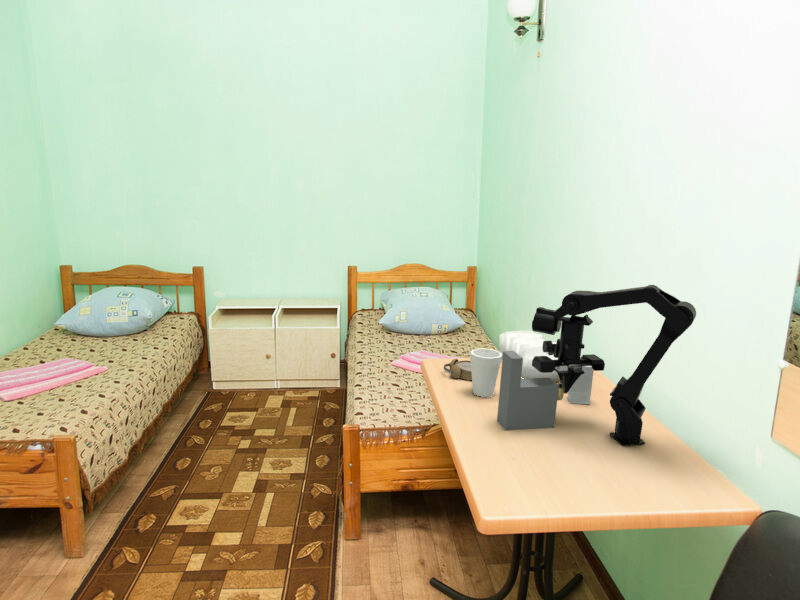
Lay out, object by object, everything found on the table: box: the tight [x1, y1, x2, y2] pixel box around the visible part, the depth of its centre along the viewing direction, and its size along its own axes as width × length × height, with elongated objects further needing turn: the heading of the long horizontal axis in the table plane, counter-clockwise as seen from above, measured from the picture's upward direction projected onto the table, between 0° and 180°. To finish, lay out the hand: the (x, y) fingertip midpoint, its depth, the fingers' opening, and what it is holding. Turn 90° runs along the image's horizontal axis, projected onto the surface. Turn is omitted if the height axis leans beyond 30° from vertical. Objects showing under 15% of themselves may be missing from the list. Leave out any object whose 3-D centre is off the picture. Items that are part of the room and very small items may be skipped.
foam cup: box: [469, 347, 502, 398], centre depth 173 cm, size 10×9×13 cm
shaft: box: [555, 382, 565, 402], centre depth 153 cm, size 5×13×5 cm, turn 102°
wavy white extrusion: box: [498, 329, 560, 383], centre depth 199 cm, size 35×16×11 cm, turn 9°
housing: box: [496, 351, 559, 431], centre depth 152 cm, size 6×14×20 cm, turn 102°
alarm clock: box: [443, 358, 472, 381], centre depth 189 cm, size 11×5×15 cm
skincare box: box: [566, 366, 594, 405], centre depth 170 cm, size 6×4×12 cm
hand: (564, 393), depth 155 cm, fingers closed
